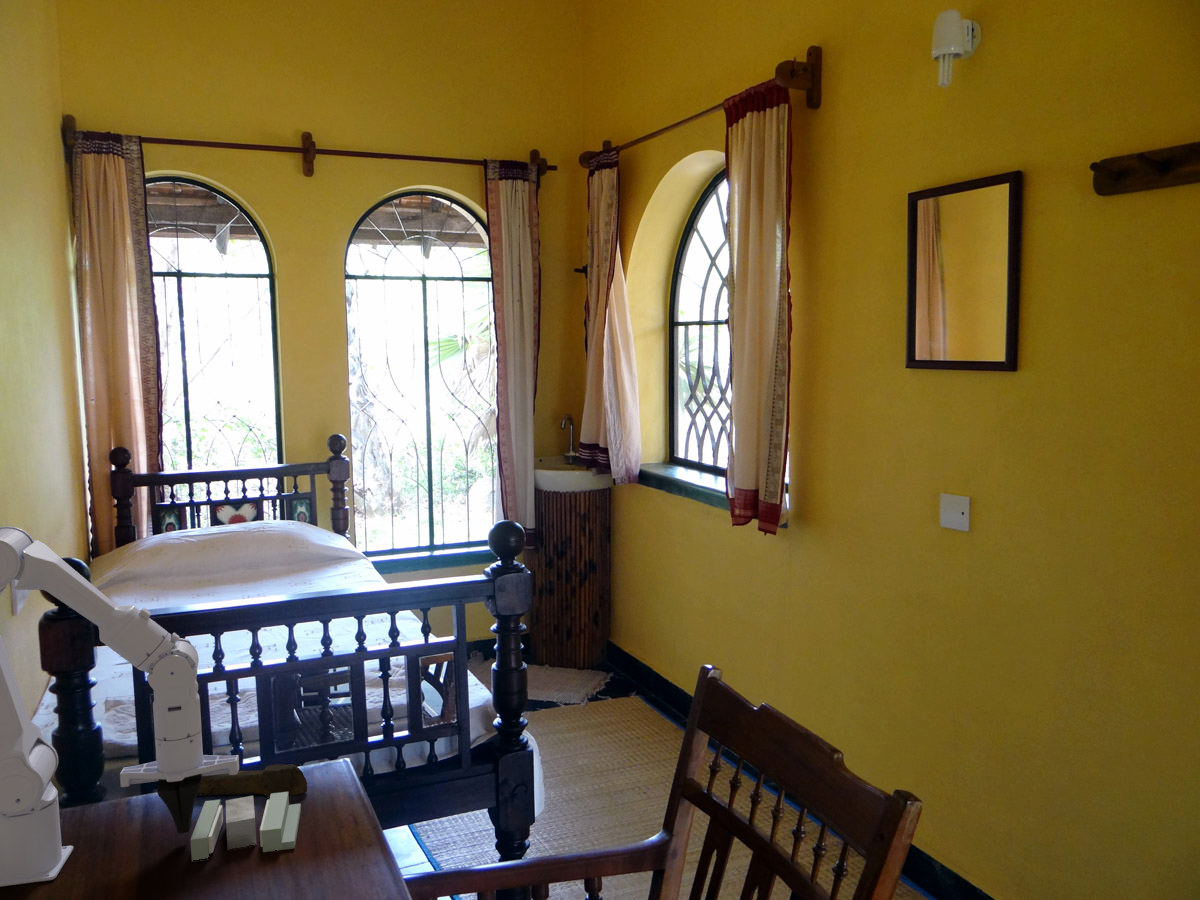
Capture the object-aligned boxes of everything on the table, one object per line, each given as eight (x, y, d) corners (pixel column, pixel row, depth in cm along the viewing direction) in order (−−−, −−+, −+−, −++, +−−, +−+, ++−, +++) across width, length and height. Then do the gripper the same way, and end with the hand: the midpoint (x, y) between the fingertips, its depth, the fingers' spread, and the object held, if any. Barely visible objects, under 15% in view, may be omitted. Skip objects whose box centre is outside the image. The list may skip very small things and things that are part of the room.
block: (227, 851, 125) (226, 823, 125) (227, 827, 131) (225, 800, 131) (256, 846, 126) (254, 817, 126) (254, 822, 133) (253, 795, 132)
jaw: (191, 861, 122) (190, 839, 122) (206, 821, 133) (205, 801, 133) (211, 858, 123) (210, 837, 123) (224, 819, 133) (223, 799, 133)
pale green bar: (259, 852, 124) (258, 831, 124) (268, 813, 135) (267, 794, 135) (294, 848, 125) (293, 826, 125) (300, 810, 136) (299, 790, 136)
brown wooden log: (174, 803, 139) (172, 773, 139) (187, 790, 143) (185, 761, 143) (300, 804, 139) (298, 774, 138) (309, 791, 143) (308, 762, 142)
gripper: (111, 750, 120) (118, 851, 121) (231, 738, 123) (237, 836, 125) (125, 729, 127) (131, 825, 128) (238, 718, 130) (244, 811, 132)
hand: (184, 829), depth 127 cm, fingers closed
